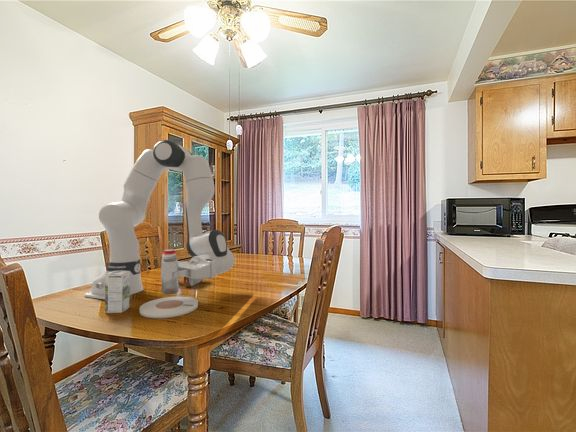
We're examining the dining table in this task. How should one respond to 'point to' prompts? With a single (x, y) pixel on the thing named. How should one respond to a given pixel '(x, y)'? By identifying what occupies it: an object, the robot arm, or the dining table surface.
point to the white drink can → (169, 275)
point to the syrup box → (117, 291)
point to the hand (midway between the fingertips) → (167, 273)
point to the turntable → (168, 307)
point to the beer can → (169, 253)
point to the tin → (191, 281)
